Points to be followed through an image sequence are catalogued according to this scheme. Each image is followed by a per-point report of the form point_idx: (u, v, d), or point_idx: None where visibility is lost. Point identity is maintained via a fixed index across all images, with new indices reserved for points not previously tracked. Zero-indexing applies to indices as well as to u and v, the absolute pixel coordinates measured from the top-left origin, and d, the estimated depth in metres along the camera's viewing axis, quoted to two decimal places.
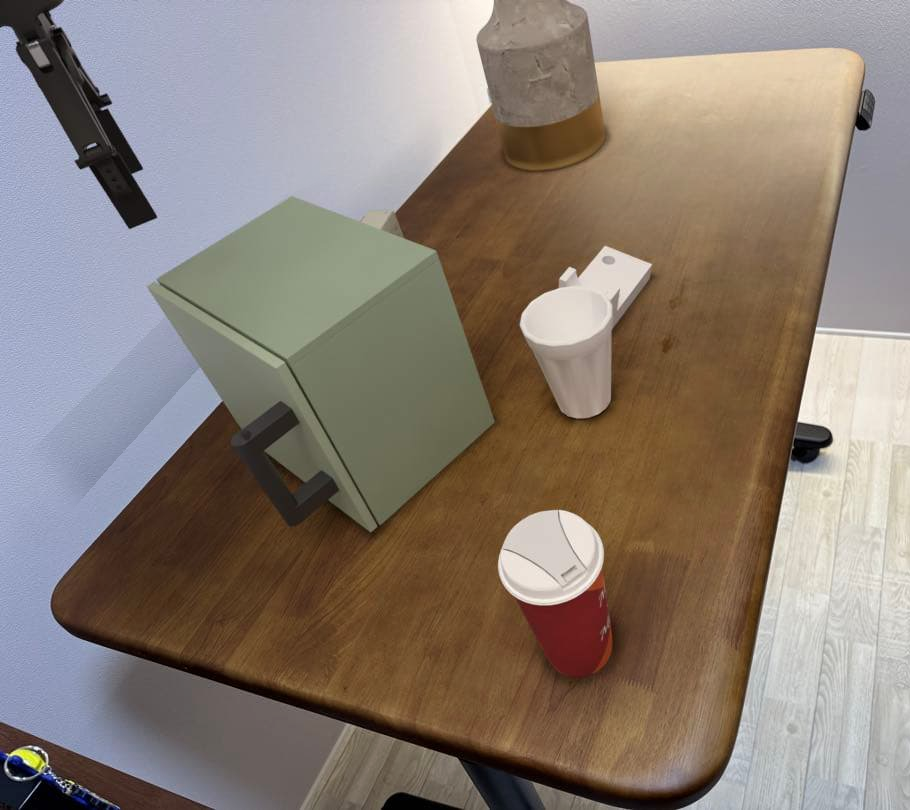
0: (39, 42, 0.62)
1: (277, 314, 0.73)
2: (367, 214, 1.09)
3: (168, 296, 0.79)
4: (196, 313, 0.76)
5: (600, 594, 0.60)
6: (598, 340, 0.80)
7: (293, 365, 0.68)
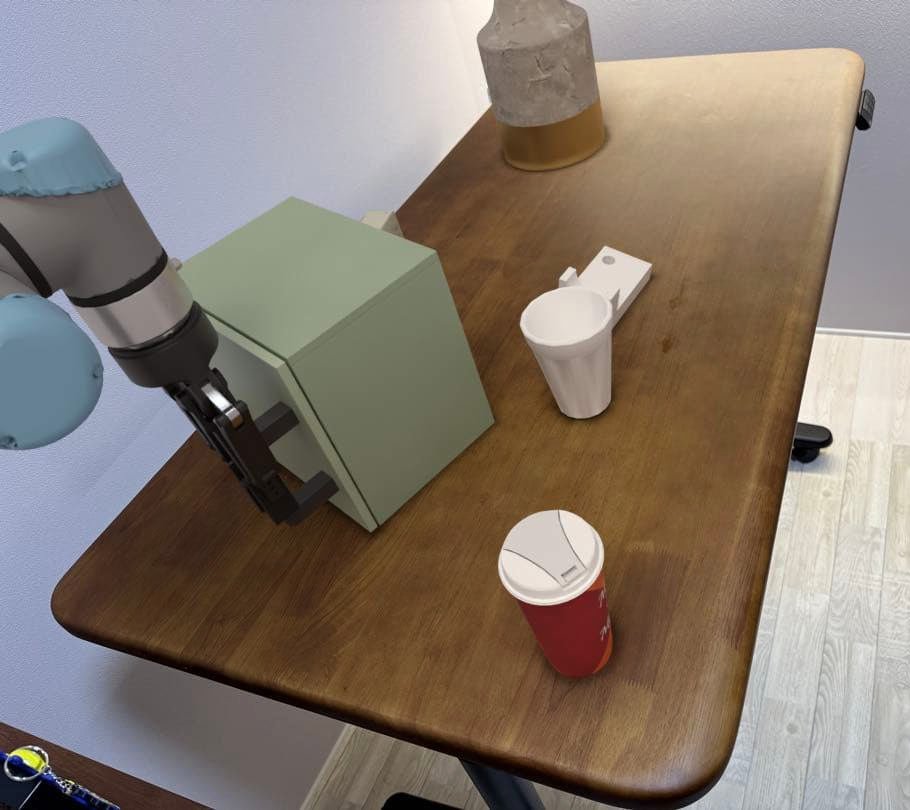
0: (240, 411, 0.62)
1: (277, 314, 0.73)
2: (367, 214, 1.09)
3: None
4: None
5: (600, 594, 0.60)
6: (598, 340, 0.80)
7: (293, 365, 0.68)
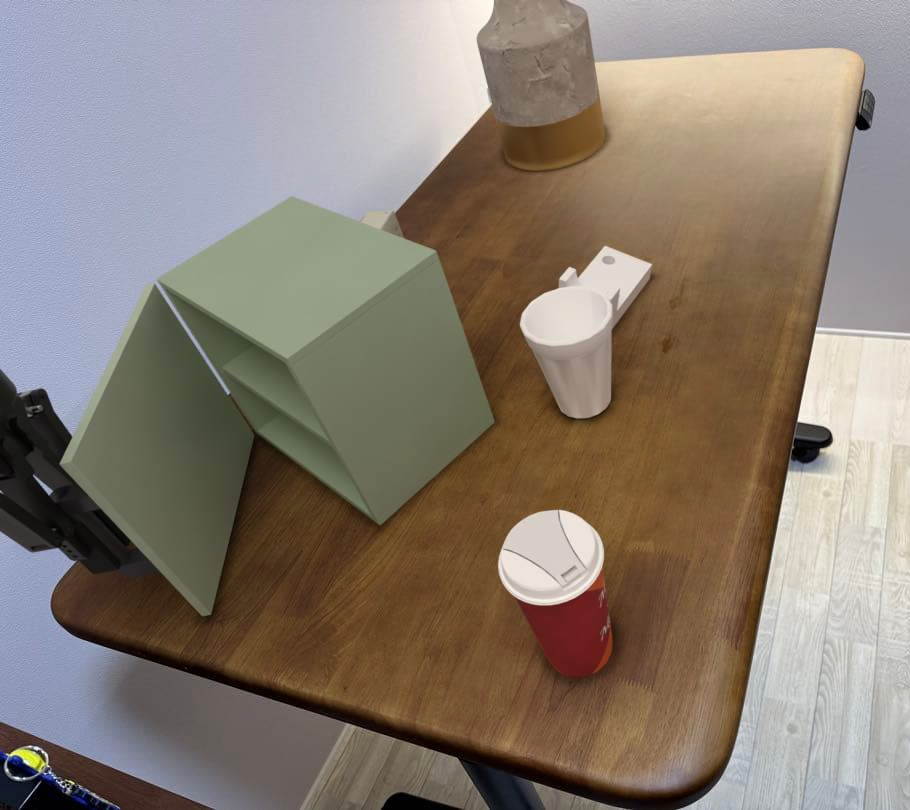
0: None
1: (277, 314, 0.73)
2: (367, 214, 1.09)
3: (136, 309, 0.79)
4: (119, 345, 0.75)
5: (600, 594, 0.60)
6: (598, 340, 0.80)
7: (293, 365, 0.68)
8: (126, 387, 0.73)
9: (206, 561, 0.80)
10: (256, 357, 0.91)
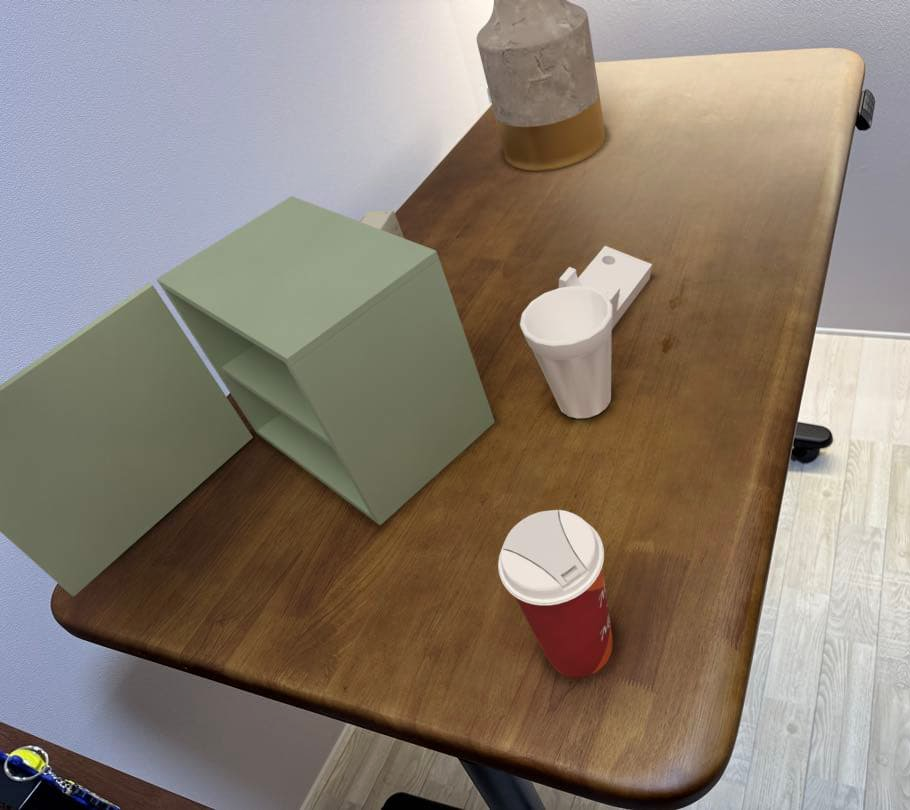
0: None
1: (277, 314, 0.73)
2: (367, 214, 1.09)
3: (112, 309, 0.80)
4: (62, 344, 0.77)
5: (600, 594, 0.60)
6: (598, 340, 0.80)
7: (293, 365, 0.68)
8: (44, 386, 0.76)
9: (92, 549, 0.85)
10: (256, 357, 0.91)
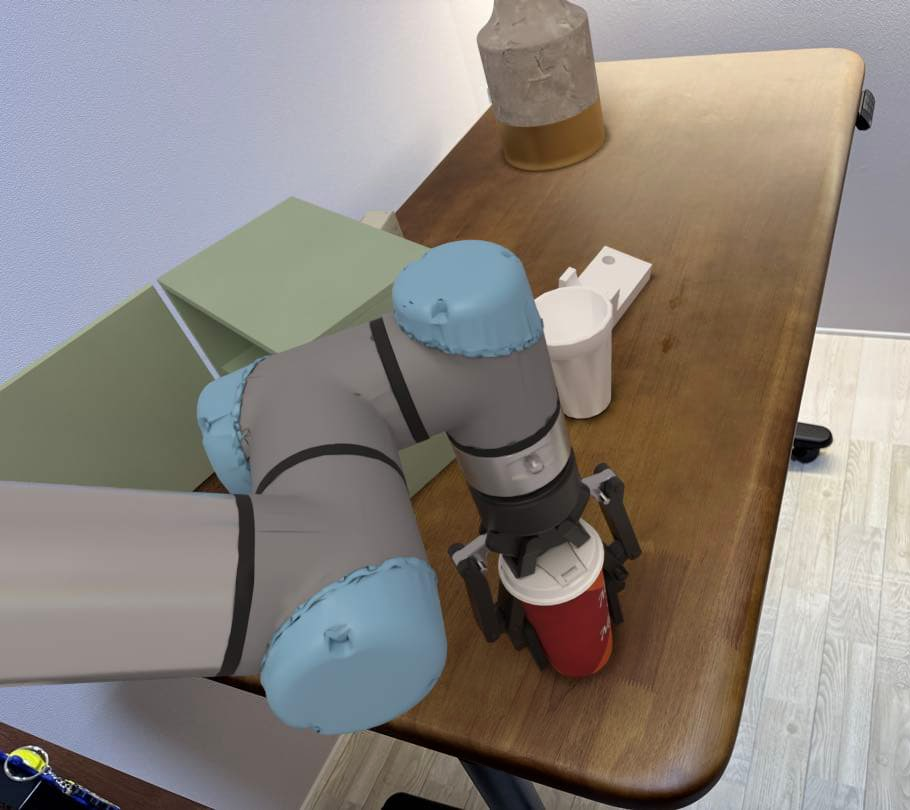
0: (457, 567, 0.54)
1: (277, 314, 0.73)
2: (367, 214, 1.09)
3: (112, 309, 0.80)
4: (62, 344, 0.77)
5: (600, 594, 0.60)
6: (598, 340, 0.80)
7: None
8: (44, 386, 0.76)
9: None
10: (256, 357, 0.91)
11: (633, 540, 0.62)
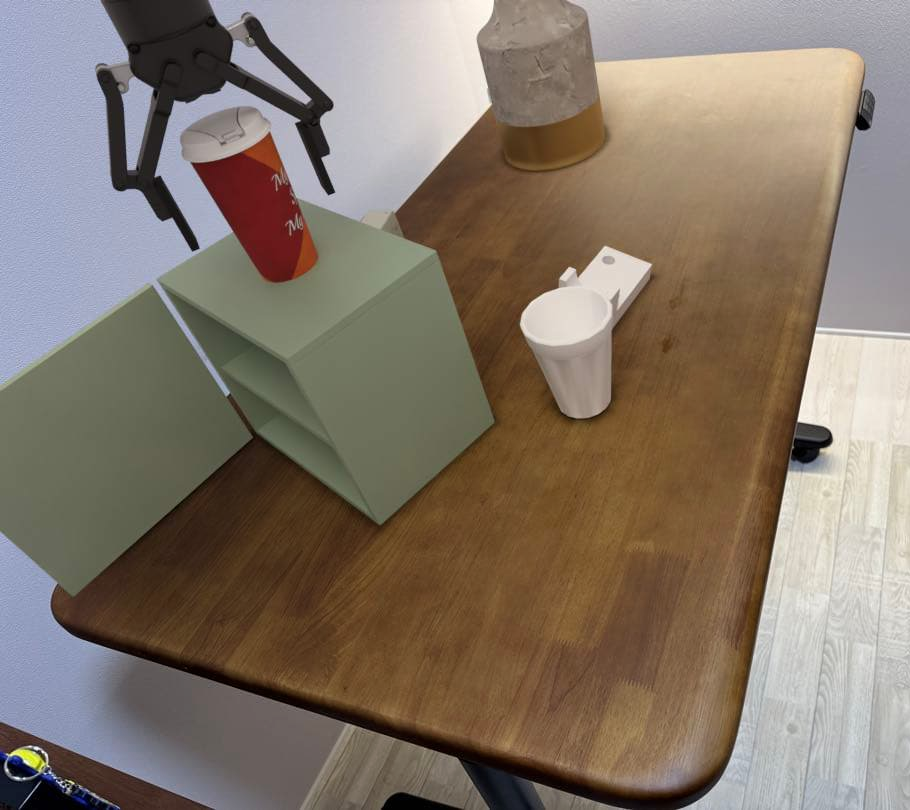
0: (97, 72, 0.62)
1: (277, 314, 0.73)
2: (367, 214, 1.09)
3: (112, 309, 0.80)
4: (62, 344, 0.77)
5: (273, 175, 0.70)
6: (598, 340, 0.80)
7: (293, 365, 0.68)
8: (44, 386, 0.76)
9: (92, 549, 0.85)
10: (256, 357, 0.91)
11: (313, 87, 0.69)
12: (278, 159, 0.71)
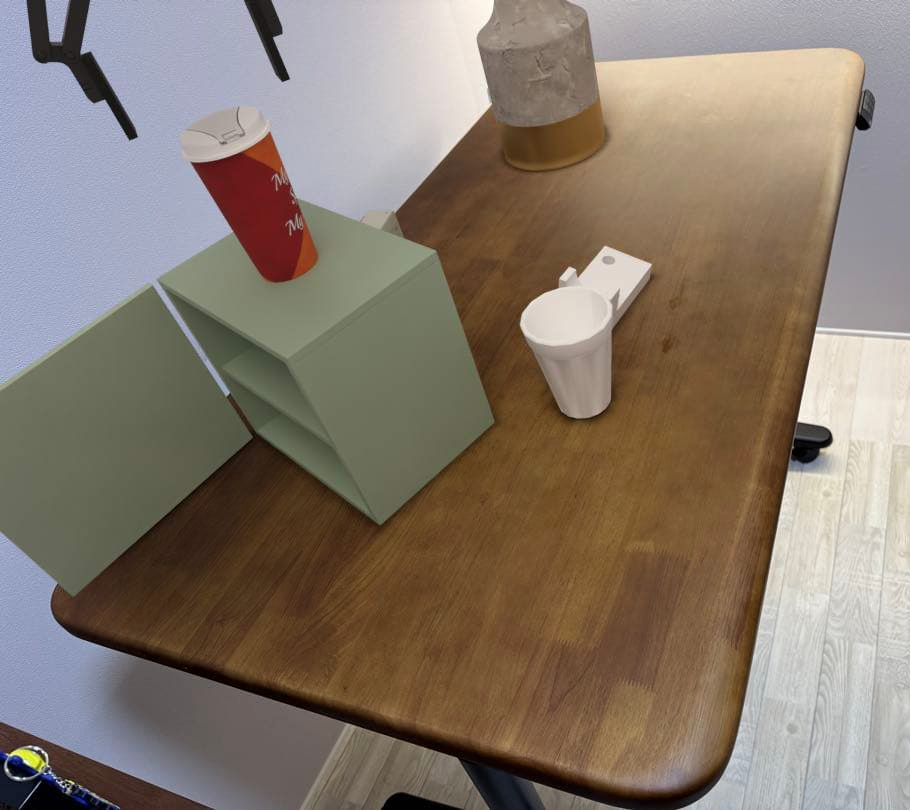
0: None
1: (277, 314, 0.73)
2: (367, 214, 1.09)
3: (112, 309, 0.80)
4: (62, 344, 0.77)
5: (273, 175, 0.70)
6: (598, 340, 0.80)
7: (293, 365, 0.68)
8: (44, 386, 0.76)
9: (92, 549, 0.85)
10: (256, 357, 0.91)
11: None
12: (278, 159, 0.71)
